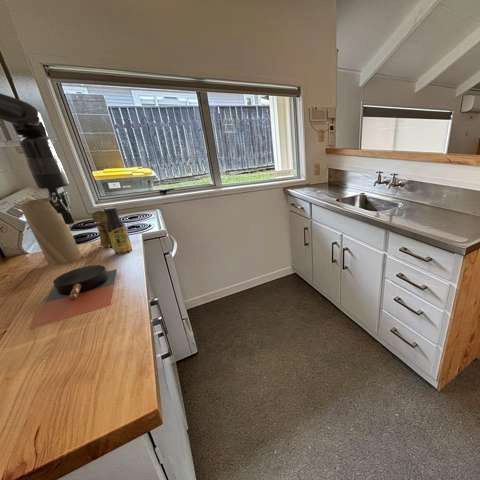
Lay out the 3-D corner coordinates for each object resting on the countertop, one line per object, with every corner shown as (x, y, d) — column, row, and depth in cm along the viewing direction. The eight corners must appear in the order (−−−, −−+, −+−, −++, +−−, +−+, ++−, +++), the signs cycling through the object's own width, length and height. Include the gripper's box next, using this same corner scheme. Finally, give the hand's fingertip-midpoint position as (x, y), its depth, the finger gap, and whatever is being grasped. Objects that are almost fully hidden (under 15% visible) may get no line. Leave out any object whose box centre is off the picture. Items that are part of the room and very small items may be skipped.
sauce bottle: (122, 257, 106) (105, 210, 98) (112, 255, 108) (94, 209, 100) (137, 250, 112) (122, 206, 104) (127, 249, 113) (111, 205, 106)
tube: (58, 268, 98) (27, 205, 89) (43, 265, 102) (12, 203, 92) (87, 257, 107) (62, 198, 97) (73, 254, 110) (47, 197, 101)
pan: (45, 315, 70) (39, 304, 69) (63, 281, 87) (58, 272, 86) (104, 298, 77) (99, 288, 76) (110, 270, 94) (107, 261, 92)
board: (29, 332, 65) (28, 329, 65) (56, 285, 86) (55, 283, 86) (111, 307, 74) (110, 305, 74) (118, 270, 95) (117, 268, 95)
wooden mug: (99, 253, 111) (83, 213, 104) (102, 243, 121) (87, 206, 114) (124, 247, 115) (111, 209, 108) (124, 239, 126) (112, 203, 119)
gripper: (38, 171, 85) (60, 221, 91) (24, 175, 75) (50, 231, 81) (68, 169, 89) (87, 216, 95) (58, 172, 78) (81, 226, 85)
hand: (70, 223), depth 88 cm, fingers closed
